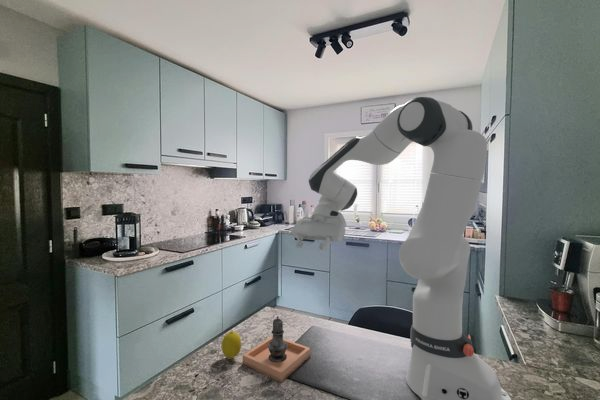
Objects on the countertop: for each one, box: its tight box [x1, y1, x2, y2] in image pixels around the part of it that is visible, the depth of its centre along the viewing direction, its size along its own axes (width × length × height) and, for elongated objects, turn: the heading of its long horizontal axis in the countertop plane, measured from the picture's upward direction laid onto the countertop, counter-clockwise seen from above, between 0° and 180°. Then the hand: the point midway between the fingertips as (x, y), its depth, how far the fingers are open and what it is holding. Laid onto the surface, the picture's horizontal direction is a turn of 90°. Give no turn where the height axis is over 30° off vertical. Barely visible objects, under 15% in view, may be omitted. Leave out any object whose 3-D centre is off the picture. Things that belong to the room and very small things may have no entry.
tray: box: [242, 335, 311, 383], centre depth 79 cm, size 14×14×2 cm
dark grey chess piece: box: [268, 315, 288, 363], centre depth 79 cm, size 6×6×12 cm
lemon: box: [221, 330, 242, 360], centre depth 80 cm, size 6×6×8 cm
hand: (309, 247), depth 94 cm, fingers open, 8 cm apart
